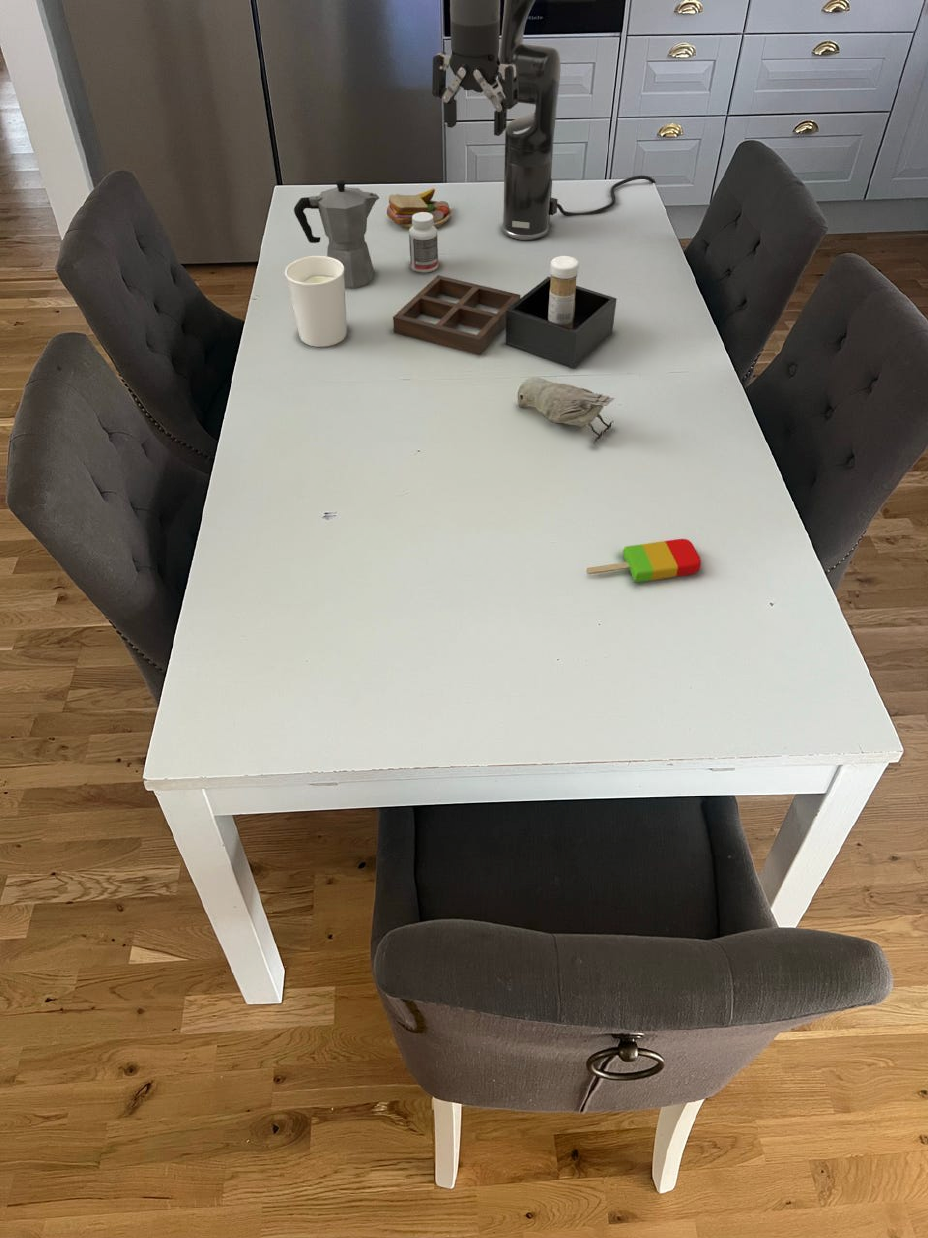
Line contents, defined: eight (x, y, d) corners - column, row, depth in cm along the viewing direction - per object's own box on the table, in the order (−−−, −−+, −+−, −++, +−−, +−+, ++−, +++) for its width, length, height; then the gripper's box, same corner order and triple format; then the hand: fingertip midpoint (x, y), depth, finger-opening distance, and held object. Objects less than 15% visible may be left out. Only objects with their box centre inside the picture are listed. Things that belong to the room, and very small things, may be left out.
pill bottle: (444, 266, 178) (442, 216, 171) (423, 276, 175) (421, 225, 168) (425, 257, 181) (423, 207, 173) (404, 266, 178) (401, 216, 171)
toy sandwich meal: (456, 228, 189) (456, 205, 185) (391, 235, 187) (390, 211, 184) (445, 202, 197) (444, 180, 194) (382, 208, 195) (381, 186, 192)
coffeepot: (380, 261, 179) (373, 166, 166) (388, 284, 173) (381, 187, 160) (301, 270, 177) (287, 174, 164) (306, 294, 171) (292, 196, 158)
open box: (546, 311, 166) (548, 276, 162) (612, 333, 161) (616, 298, 156) (505, 344, 159) (506, 309, 154) (573, 368, 154) (576, 333, 149)
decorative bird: (528, 397, 148) (530, 357, 142) (616, 432, 142) (622, 391, 136) (509, 414, 145) (511, 373, 140) (598, 450, 139) (604, 408, 133)
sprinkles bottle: (573, 329, 161) (580, 255, 151) (570, 343, 158) (577, 268, 148) (547, 327, 161) (552, 253, 151) (544, 341, 158) (549, 266, 148)
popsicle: (702, 574, 121) (705, 563, 119) (592, 591, 119) (593, 580, 117) (687, 546, 124) (689, 535, 123) (580, 562, 123) (581, 551, 121)
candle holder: (284, 343, 160) (273, 277, 151) (311, 315, 166) (302, 251, 157) (335, 354, 157) (327, 288, 148) (360, 326, 163) (354, 261, 154)
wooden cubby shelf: (438, 289, 172) (437, 274, 170) (520, 310, 167) (520, 294, 164) (393, 332, 162) (392, 316, 160) (479, 355, 157) (479, 339, 154)
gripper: (528, 14, 139) (523, 129, 151) (444, 3, 144) (446, 115, 156) (507, 28, 135) (504, 145, 147) (422, 16, 139) (426, 130, 151)
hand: (475, 129), depth 151 cm, fingers open, 8 cm apart
